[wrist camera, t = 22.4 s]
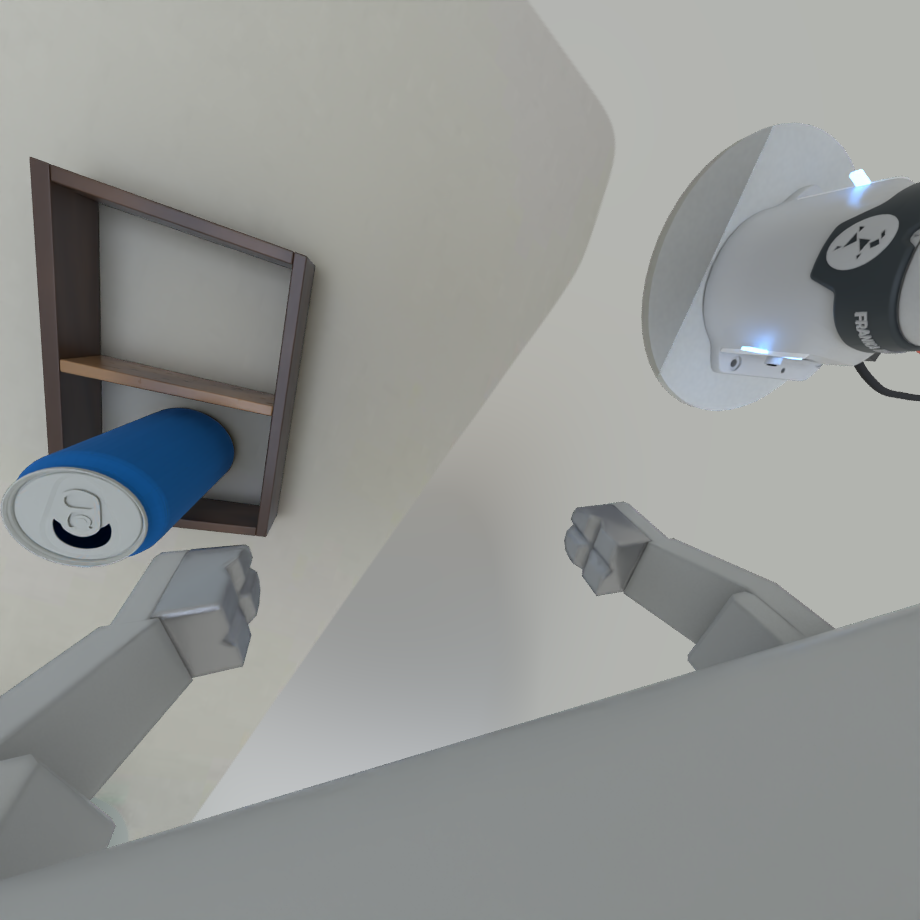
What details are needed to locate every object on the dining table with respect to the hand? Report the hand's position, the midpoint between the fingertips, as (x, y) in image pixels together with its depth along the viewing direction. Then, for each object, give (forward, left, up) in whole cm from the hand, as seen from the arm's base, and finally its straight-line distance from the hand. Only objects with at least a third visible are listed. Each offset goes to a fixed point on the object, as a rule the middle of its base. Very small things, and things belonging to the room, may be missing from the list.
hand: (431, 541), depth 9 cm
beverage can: (+14, +8, -24) cm, 29 cm away
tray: (+14, +3, -23) cm, 28 cm away
